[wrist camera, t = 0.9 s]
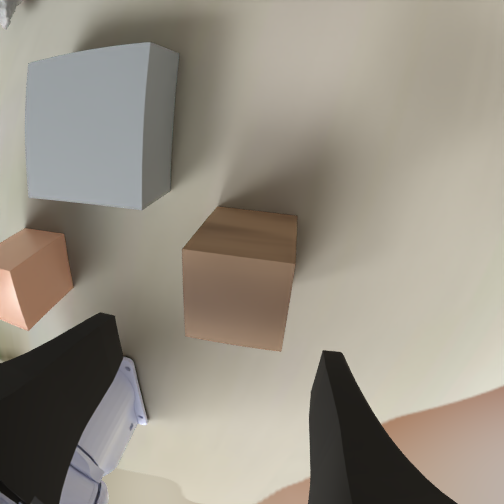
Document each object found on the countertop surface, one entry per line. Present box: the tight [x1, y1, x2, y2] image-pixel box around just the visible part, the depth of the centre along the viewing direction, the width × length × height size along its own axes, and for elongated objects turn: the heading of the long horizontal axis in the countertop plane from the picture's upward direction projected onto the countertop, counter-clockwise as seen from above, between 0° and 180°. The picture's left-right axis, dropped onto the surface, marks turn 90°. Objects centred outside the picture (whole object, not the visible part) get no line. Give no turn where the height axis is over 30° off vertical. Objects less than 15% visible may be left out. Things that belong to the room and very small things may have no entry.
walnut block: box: [182, 206, 297, 352], centre depth 16 cm, size 4×4×6 cm
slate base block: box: [25, 42, 179, 210], centre depth 15 cm, size 8×8×4 cm
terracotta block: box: [0, 228, 74, 331], centre depth 19 cm, size 4×4×6 cm
